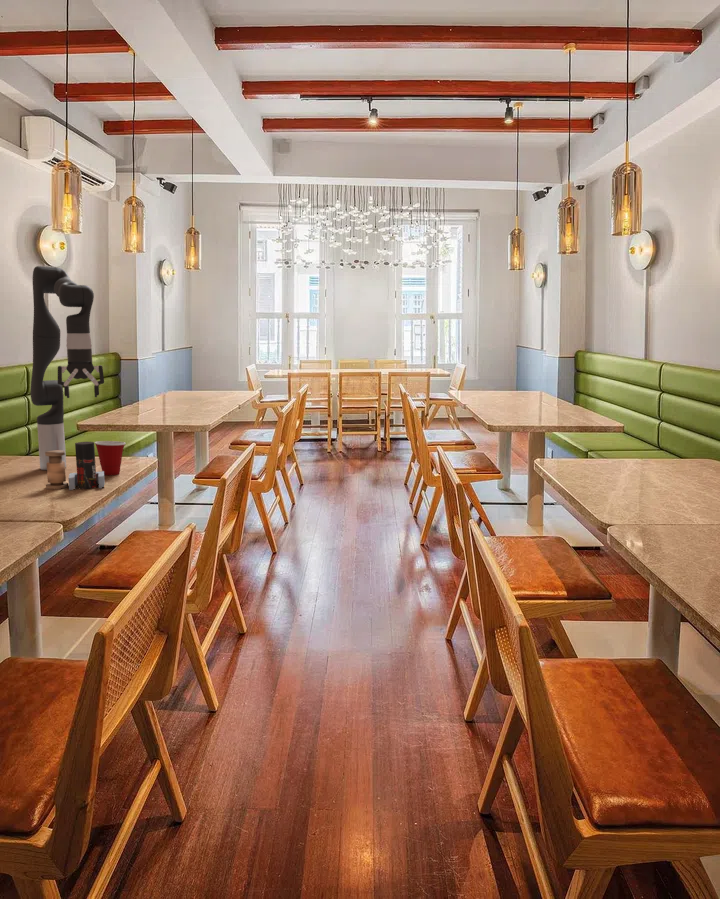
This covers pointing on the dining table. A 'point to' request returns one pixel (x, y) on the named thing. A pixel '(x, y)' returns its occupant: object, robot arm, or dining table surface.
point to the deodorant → (85, 465)
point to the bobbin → (56, 470)
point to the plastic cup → (110, 456)
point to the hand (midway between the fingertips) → (82, 397)
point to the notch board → (74, 482)
